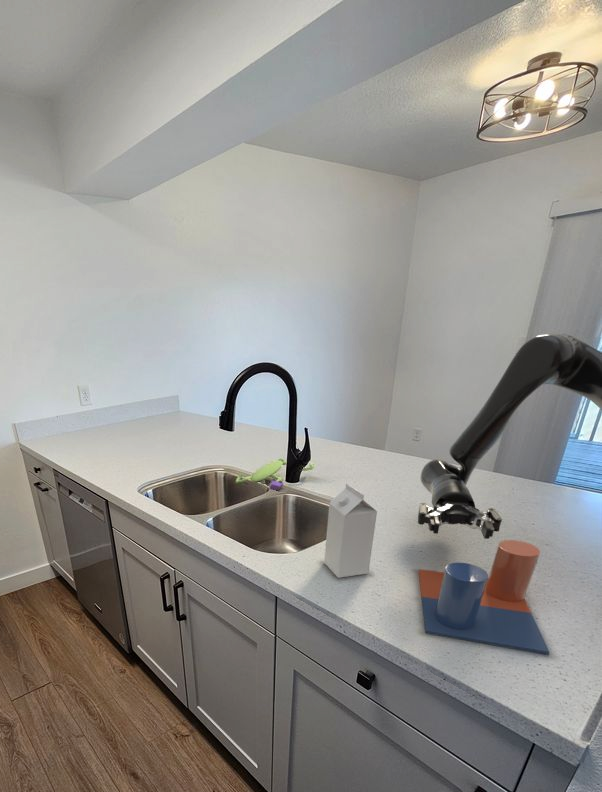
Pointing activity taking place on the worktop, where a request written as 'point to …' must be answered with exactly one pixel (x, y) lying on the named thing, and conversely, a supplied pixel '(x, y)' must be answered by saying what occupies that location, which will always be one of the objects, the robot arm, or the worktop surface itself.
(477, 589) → the blue crock
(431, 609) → the sorting mat
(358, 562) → the milk carton
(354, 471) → the worktop surface
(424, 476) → the robot arm
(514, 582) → the terracotta crock
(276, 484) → the figurine
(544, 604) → the worktop surface
